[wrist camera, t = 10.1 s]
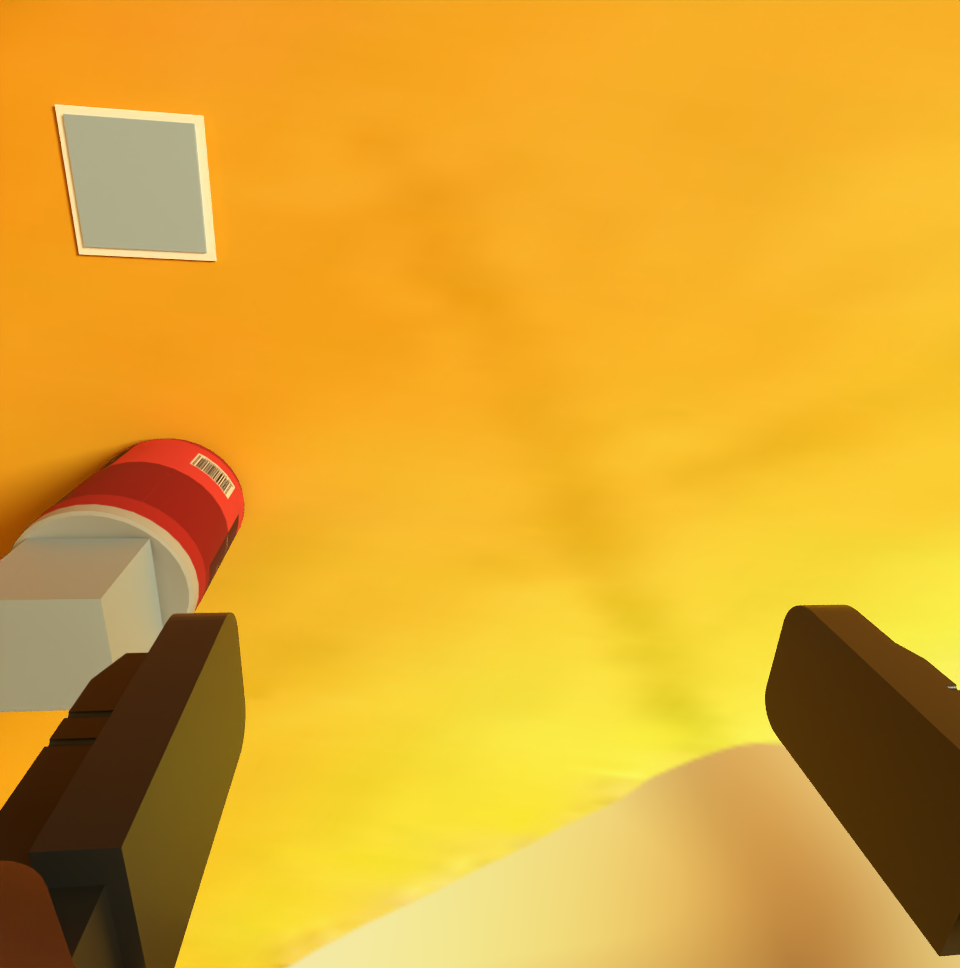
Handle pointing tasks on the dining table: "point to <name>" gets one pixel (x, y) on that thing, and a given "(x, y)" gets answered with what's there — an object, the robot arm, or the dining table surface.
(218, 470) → the canned food
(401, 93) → the dining table surface
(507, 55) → the dining table surface
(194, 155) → the swatch
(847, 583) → the dining table surface
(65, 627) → the light grey cube
